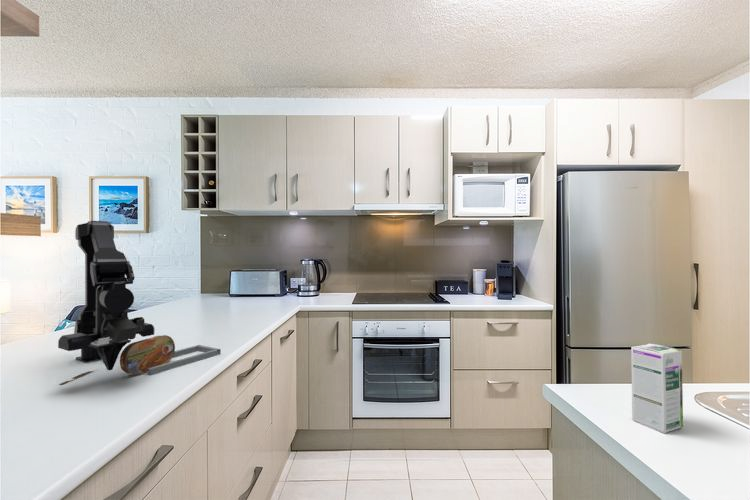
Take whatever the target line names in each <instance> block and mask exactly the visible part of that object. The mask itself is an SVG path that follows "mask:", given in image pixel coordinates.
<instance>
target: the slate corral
mask: <svg viewBox="0 0 750 500" xmlns="http://www.w3.org/2000/svg"><path fill="white" fill-rule="evenodd" d="M196 352H201V353H199V354H198V353H197V354H195V355H191V356H188V357H184V358H180V359H177V360H173V361H169V362H168V363H166V364H162V365H159V366H155V367H152V368H148V372H147V375H149V376H153V375H156V374H158V373H159V374H160V373H162V372H165V371H170V370H172V369H175V368H179V367H182V366H186V365H188V364H189V365H190V364H192V363H195V362H198V361H201V360H205V359H208V358H211V357H215V356H220V355H221V348H216V347H211V346H206V345H202V344H197V345H194V346H189V347H185V348H181V349H178V350H175V351H174V355H173V357H172V359H174V358H178V357H181V356H184V355H188V354H192V353H196Z"/></svg>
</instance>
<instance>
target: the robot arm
mask: <svg viewBox="0 0 750 500" xmlns="http://www.w3.org/2000/svg"><path fill="white" fill-rule="evenodd" d="M74 230H75V231H74V233H75V234H74V235H75V236H74V237H75V241H77V245H78V247H79V249H80V250H81V251H82V252H83V254H84V257H85V258H84V264H85V265H84V268H85V269H84V270H85V271H84V272H85V273H84V274H85V275H84V280H85V281H84V282H85V283H84V285H85V289H84V290H85V291H84V292H85V293H84V298H85V299H84V301H85V303H84V305H83V307H82V308H81V309H80V311H79V312H78V316H77V317H78V318H77V319H76V320H75V323H74V329H73V332H74V333H70V334H65V335H64V334H63V335H61V336H60V337H59V339H58V341H57V342H58V343H57V344H58V345H57V347H58V349H61V350H64V351H68V352H72V351H78V350H80V356H77V357H75V360H76V361H80V362H83V363H89V362H94V361H97V360H101V361H102V362H103V364H104V366H105V368H106V370H107V371H112V370H113V369H114V367H115V364H116V362H117V359H118V357H119V355H120V354H121V351H122V350H123V349H124V348H125V347H126V346H127V345H128V344H131V342H132V340H133V339H135V338H136V336H137V335H139V336H141V337H143V338H144V337H149V336H153V335H155V327H154V325H153V324H152V323H147V322H145V318H144V317H142V316H140V317H133V318H129V315H128V313H129V312H128V311H127V310H129V309H130V308H131V307H132V306H133V305H134V302H135V295H134V293H133V292H132V291H131V290H130V289H129V288H127V287H126V285H132V284H134V281H135V274H134V269H133V265H131V261H129V260H127V257H126V255H125V253H124V252H122V251H120V250H118V249H117V247H116V243H115V240H114V239H115V226H114V225H112V222H109V221H108V220H106V221H105V220H90V221H88V222H86V223H80V224H77V225H76V227H75V229H74ZM124 346H125V347H124Z"/></svg>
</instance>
